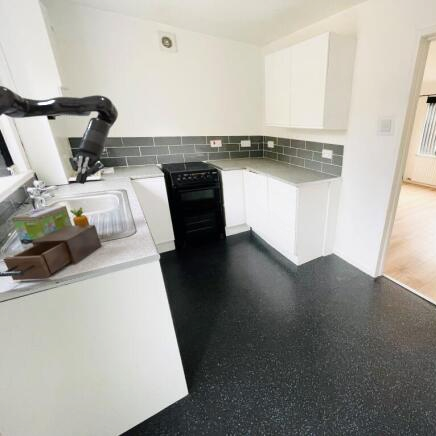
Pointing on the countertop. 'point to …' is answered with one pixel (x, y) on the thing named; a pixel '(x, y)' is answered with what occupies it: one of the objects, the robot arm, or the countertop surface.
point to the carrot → (79, 218)
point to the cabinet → (74, 240)
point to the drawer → (37, 261)
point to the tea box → (40, 223)
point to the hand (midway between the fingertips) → (79, 183)
